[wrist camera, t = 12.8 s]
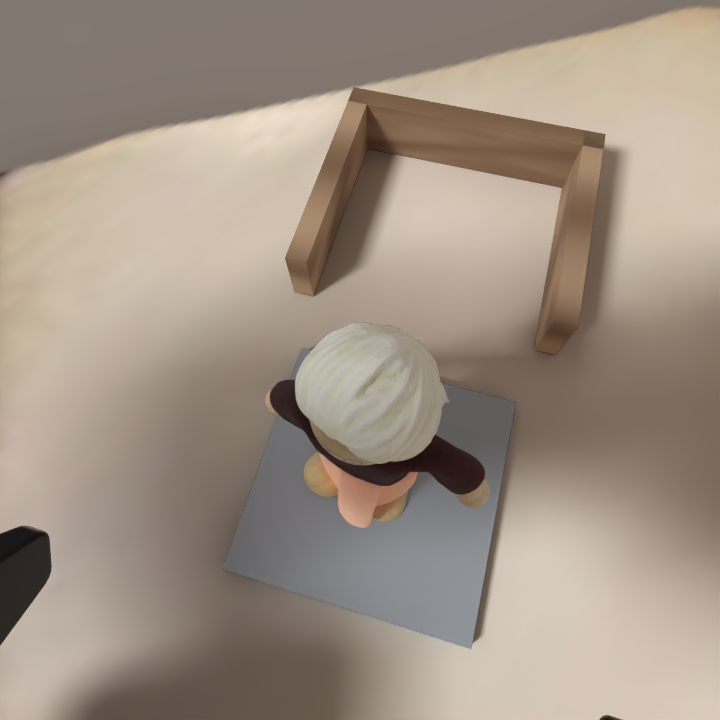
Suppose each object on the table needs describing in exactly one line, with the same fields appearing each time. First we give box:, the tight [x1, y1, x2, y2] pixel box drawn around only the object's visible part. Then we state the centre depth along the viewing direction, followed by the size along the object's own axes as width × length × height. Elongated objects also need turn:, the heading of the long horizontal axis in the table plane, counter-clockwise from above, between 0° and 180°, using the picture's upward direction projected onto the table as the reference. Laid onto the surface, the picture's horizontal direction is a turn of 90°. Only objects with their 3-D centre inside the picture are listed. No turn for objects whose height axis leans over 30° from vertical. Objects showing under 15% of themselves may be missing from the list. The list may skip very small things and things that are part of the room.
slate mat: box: [223, 348, 516, 649], centre depth 22 cm, size 10×10×1 cm
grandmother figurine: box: [265, 323, 490, 528], centre depth 16 cm, size 8×4×13 cm, turn 75°
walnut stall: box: [285, 88, 606, 355], centre depth 26 cm, size 11×13×3 cm
